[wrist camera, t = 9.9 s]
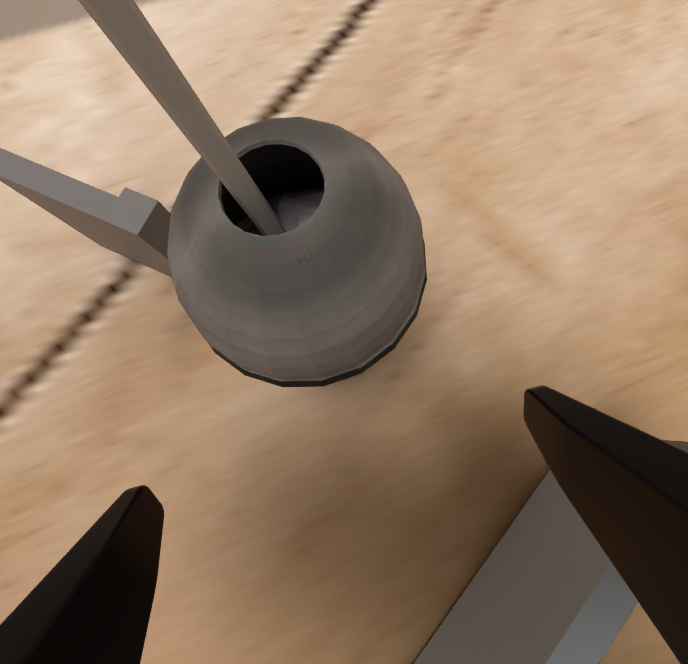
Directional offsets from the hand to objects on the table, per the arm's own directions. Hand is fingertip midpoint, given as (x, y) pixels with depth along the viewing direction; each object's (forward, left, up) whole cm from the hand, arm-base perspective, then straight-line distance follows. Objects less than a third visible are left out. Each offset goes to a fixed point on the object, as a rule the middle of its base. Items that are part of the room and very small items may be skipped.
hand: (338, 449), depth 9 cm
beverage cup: (+3, -4, -13) cm, 14 cm away
